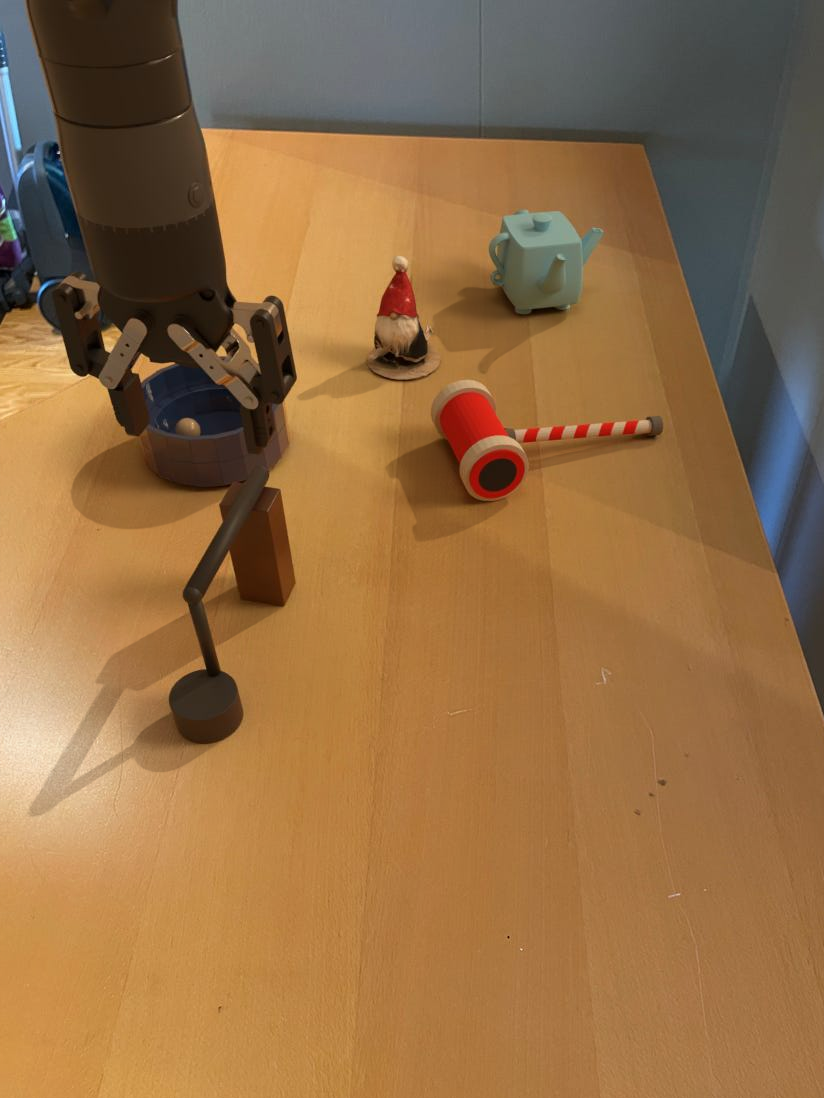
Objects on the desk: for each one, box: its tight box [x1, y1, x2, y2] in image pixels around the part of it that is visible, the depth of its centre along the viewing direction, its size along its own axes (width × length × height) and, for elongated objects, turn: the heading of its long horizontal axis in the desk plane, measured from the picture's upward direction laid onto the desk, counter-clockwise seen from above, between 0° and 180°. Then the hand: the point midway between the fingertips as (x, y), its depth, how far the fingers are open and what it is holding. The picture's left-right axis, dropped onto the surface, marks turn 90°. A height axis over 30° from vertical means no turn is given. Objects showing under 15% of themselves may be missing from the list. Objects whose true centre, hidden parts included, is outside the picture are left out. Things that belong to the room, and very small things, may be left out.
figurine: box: [366, 255, 442, 381], centre depth 107 cm, size 8×10×12 cm
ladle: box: [168, 466, 270, 744], centre depth 74 cm, size 19×5×12 cm, turn 169°
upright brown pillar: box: [218, 482, 297, 607], centre depth 79 cm, size 4×3×10 cm
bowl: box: [138, 355, 290, 488], centre depth 95 cm, size 14×14×6 cm
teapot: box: [488, 209, 604, 315], centre depth 116 cm, size 18×14×10 cm
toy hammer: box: [430, 379, 664, 502], centre depth 95 cm, size 23×12×6 cm, turn 108°
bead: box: [175, 418, 200, 436], centre depth 96 cm, size 2×2×2 cm
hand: (198, 438), depth 65 cm, fingers open, 8 cm apart
